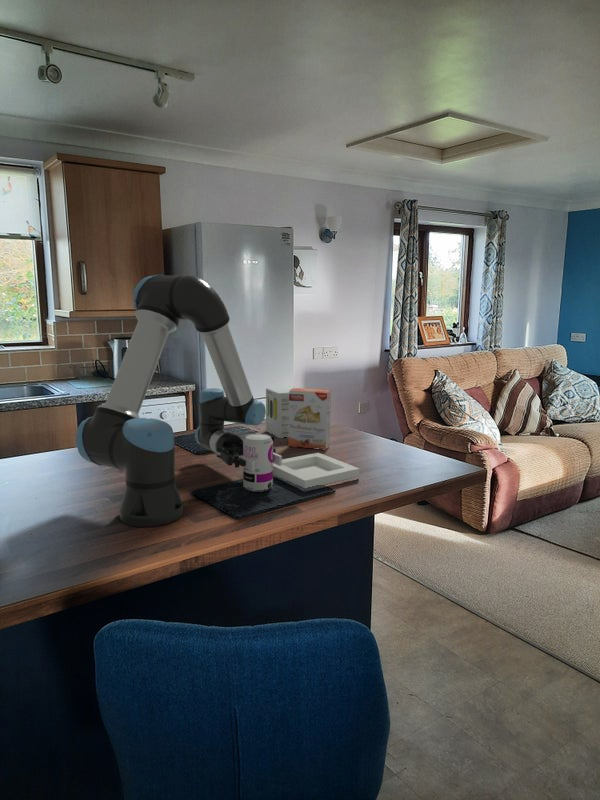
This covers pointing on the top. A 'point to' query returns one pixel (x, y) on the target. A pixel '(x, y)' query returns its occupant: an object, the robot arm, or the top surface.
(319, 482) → the tray
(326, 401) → the cracker box
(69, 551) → the top surface
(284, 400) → the supplement box
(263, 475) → the supplement can
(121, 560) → the top surface
